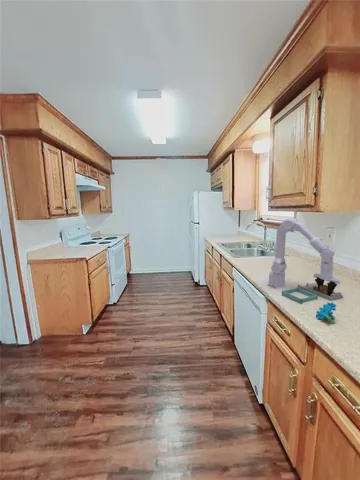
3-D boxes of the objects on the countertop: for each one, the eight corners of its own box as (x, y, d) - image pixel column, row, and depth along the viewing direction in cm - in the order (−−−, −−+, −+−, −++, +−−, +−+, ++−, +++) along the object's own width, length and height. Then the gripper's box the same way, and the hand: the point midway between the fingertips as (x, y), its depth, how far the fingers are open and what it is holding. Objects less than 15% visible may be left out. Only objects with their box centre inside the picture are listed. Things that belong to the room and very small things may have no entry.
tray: (281, 295, 136) (281, 291, 136) (297, 291, 140) (297, 287, 140) (301, 304, 124) (301, 299, 123) (317, 300, 128) (317, 295, 127)
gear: (313, 308, 114) (332, 297, 109) (323, 317, 114) (342, 307, 109) (315, 322, 105) (335, 310, 100) (325, 332, 104) (346, 321, 99)
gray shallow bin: (296, 288, 146) (296, 283, 145) (308, 286, 149) (308, 280, 148) (330, 302, 125) (330, 295, 124) (343, 298, 128) (344, 292, 127)
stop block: (319, 294, 134) (319, 285, 133) (324, 293, 135) (325, 284, 134) (326, 296, 130) (326, 288, 129) (331, 295, 132) (331, 286, 131)
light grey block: (307, 290, 141) (307, 284, 140) (314, 288, 142) (314, 282, 142) (313, 292, 137) (313, 286, 136) (320, 290, 139) (320, 284, 138)
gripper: (344, 271, 125) (343, 296, 127) (320, 265, 139) (319, 287, 141) (335, 273, 123) (333, 298, 125) (311, 267, 136) (310, 289, 138)
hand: (325, 292), depth 133 cm, fingers open, 5 cm apart
